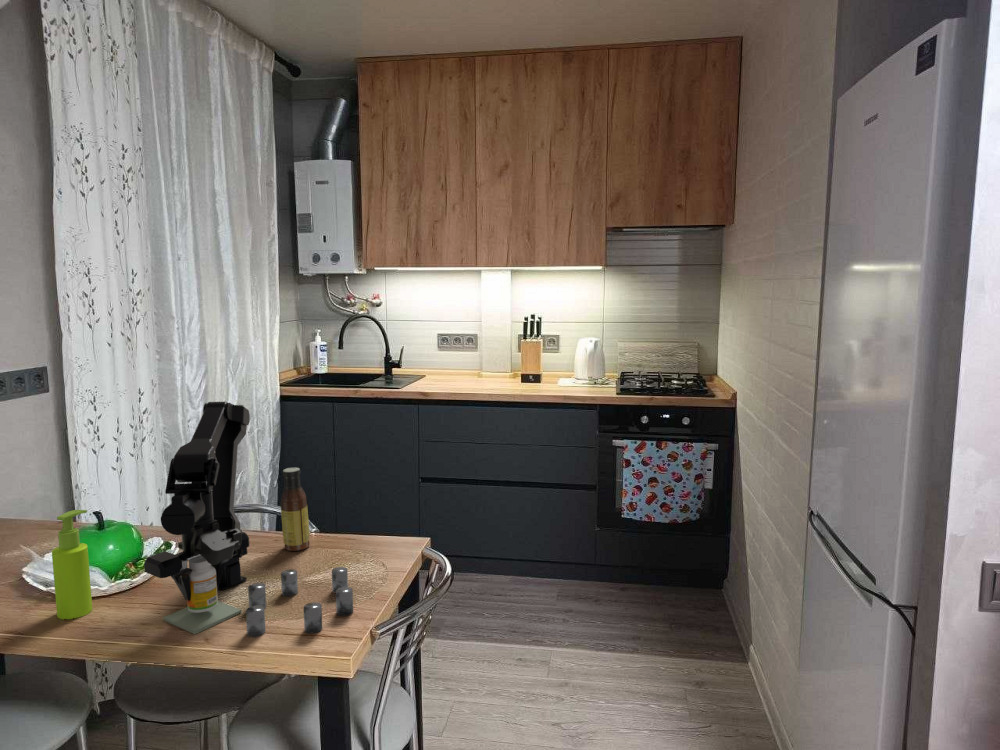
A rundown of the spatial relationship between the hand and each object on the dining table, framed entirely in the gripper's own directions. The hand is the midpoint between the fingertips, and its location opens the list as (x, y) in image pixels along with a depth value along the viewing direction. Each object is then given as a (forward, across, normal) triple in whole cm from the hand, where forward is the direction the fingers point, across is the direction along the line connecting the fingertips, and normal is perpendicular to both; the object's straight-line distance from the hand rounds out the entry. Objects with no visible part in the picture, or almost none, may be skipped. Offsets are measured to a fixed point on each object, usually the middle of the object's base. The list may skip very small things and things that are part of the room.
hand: (201, 594), depth 131 cm
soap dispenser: (+5, -12, +23) cm, 26 cm away
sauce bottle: (+5, +34, +13) cm, 37 cm away
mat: (+4, 0, 0) cm, 4 cm away
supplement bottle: (+3, 0, 0) cm, 3 cm away
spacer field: (+4, +12, -14) cm, 19 cm away
